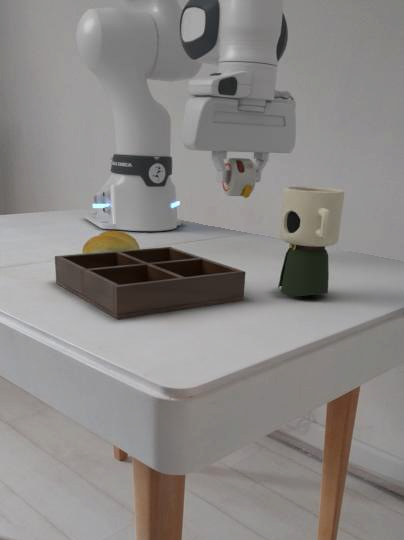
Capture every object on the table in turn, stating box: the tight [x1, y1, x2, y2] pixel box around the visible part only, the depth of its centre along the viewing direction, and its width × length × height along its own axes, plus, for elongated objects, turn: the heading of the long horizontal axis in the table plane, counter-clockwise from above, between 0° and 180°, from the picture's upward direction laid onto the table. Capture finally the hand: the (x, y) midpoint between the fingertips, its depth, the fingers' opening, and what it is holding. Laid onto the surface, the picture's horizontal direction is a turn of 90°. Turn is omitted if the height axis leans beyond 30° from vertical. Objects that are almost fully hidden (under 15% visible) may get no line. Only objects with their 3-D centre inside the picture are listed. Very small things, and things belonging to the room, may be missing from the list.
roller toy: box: [221, 157, 257, 199], centre depth 90 cm, size 4×6×6 cm
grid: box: [54, 246, 247, 320], centre depth 70 cm, size 17×17×4 cm
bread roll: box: [81, 230, 141, 254], centre depth 87 cm, size 8×9×4 cm
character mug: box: [277, 186, 345, 299], centre depth 70 cm, size 11×7×13 cm, turn 9°
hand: (238, 182), depth 91 cm, fingers closed on roller toy, 5 cm apart
